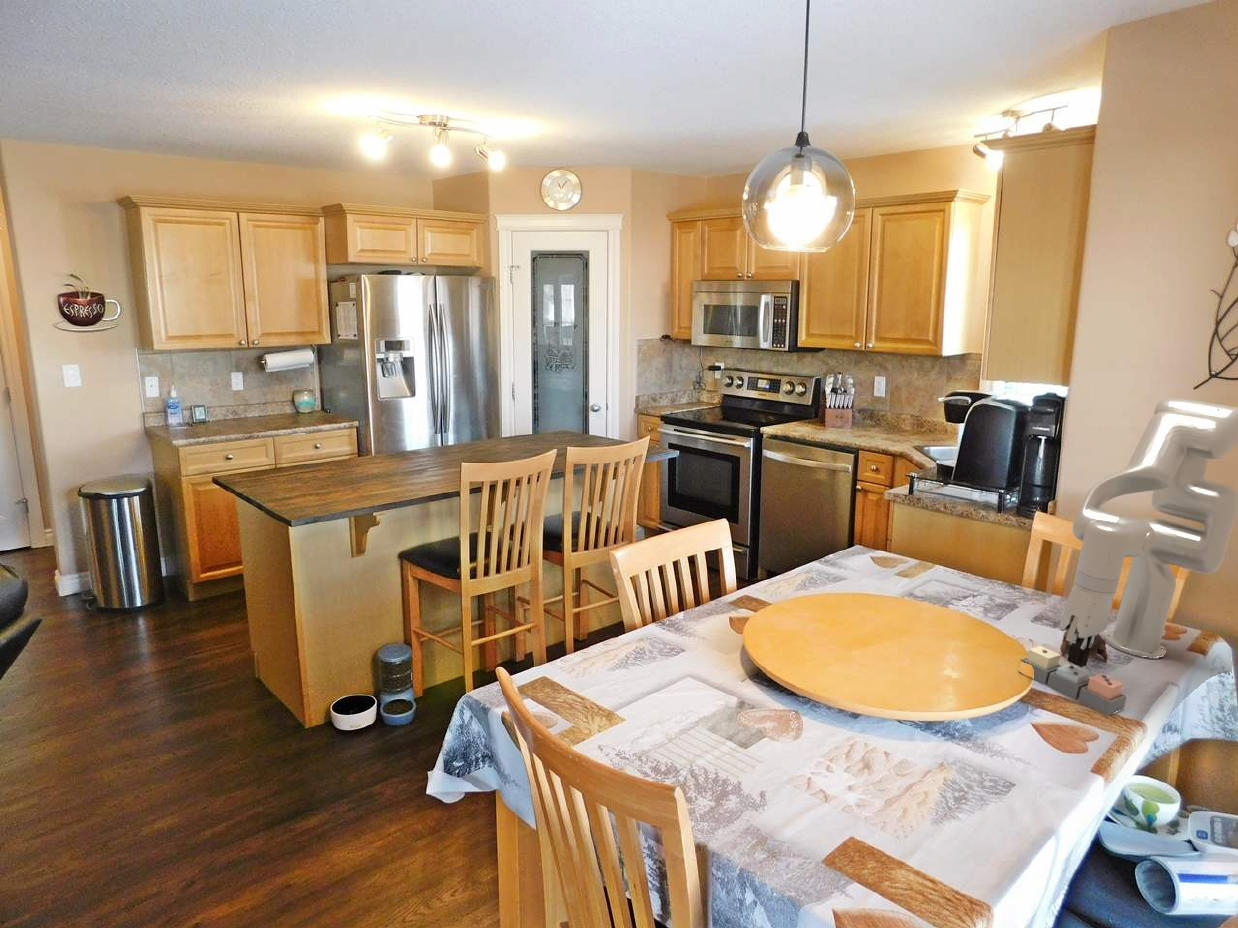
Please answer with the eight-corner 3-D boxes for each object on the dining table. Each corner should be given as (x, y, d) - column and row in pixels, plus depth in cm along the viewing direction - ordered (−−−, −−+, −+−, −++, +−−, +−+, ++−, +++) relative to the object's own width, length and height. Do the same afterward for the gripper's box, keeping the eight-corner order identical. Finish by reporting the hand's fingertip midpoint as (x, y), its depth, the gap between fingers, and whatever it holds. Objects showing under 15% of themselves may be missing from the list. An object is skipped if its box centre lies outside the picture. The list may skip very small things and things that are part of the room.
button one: (1036, 662, 176) (1041, 644, 175) (1056, 671, 172) (1060, 653, 171) (1025, 666, 174) (1029, 648, 172) (1044, 675, 170) (1049, 657, 169)
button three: (1096, 691, 165) (1101, 672, 164) (1119, 701, 162) (1124, 682, 161) (1085, 695, 163) (1090, 676, 162) (1107, 706, 159) (1112, 686, 158)
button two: (1064, 681, 171) (1069, 662, 170) (1085, 690, 167) (1090, 672, 166) (1053, 685, 168) (1057, 666, 167) (1073, 695, 165) (1078, 676, 164)
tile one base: (1034, 666, 177) (1036, 654, 177) (1060, 679, 172) (1063, 666, 172) (1018, 671, 174) (1021, 659, 173) (1044, 684, 169) (1047, 671, 168)
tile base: (1093, 694, 167) (1096, 681, 166) (1123, 709, 162) (1127, 695, 161) (1077, 701, 164) (1080, 687, 163) (1107, 715, 159) (1111, 702, 158)
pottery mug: (1117, 671, 180) (1112, 644, 177) (1073, 681, 182) (1067, 655, 179) (1093, 635, 191) (1088, 609, 187) (1051, 645, 193) (1045, 620, 190)
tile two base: (1062, 680, 172) (1065, 667, 171) (1091, 693, 167) (1094, 680, 166) (1046, 685, 169) (1050, 672, 168) (1075, 699, 164) (1078, 686, 163)
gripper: (1097, 569, 169) (1078, 648, 174) (1056, 580, 161) (1038, 662, 166) (1134, 582, 163) (1114, 664, 168) (1094, 594, 155) (1074, 679, 160)
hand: (1076, 663), depth 167 cm, fingers closed
